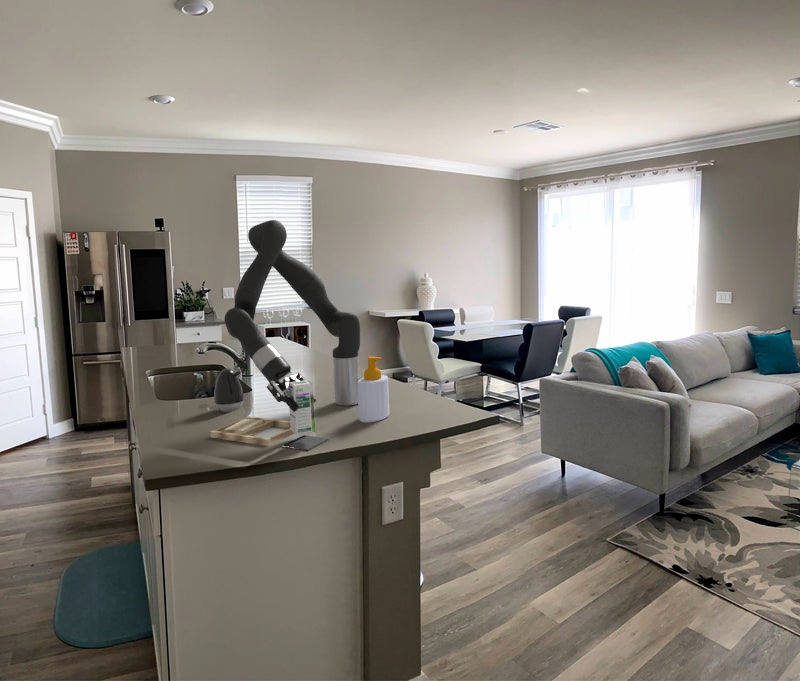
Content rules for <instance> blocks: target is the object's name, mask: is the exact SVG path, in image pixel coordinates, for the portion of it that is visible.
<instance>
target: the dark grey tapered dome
mask: <svg viewBox="0 0 800 681" xmlns="http://www.w3.org/2000/svg"><path fill="white" fill-rule="evenodd" d="M241 374H242V371H241V370H239V371H236V372H235V371H234V370H232V369H231V368H224V369H222V370H221V371H220V372H219V374H218V376H217V378H216V382H215V387H214V391H213V394H214V395H213V401H214V402H213V403H214V404H215V406H216V408H217V409H218V411H220V412H222V411H223V412H222V413H233V412H235V411H238V410H240V409H241V407H242V406H243V403H244V400H245V397H244V391H243V387H242V385H241V382H240V380H239V377H238V376H239V375H241ZM232 411H233V412H232Z"/></svg>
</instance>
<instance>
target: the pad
mask: <svg viewBox="0 0 800 681" xmlns="http://www.w3.org/2000/svg"><path fill="white" fill-rule="evenodd" d="M327 440H328V441H329V440H330V439H329V438H328V437H322V436H321V437H320V436H313V435H312V436H311V435H306V434H302V435H301V436H298V437H296V438H295V439H293V440H291V441H288V442H287V443H285V444H283V445H284V446H289V447H294V448H298V449H297V450H299V449H303V450H302V451H306V450H308V452H309V451H311V450H313V449H315V448H317V447H319V446H320V444H321V445H322V444H324V443H326V442H328V441H327ZM325 441H326V442H325ZM323 442H324V443H323ZM318 445H319V446H318ZM316 446H317V447H316ZM314 447H315V448H314ZM312 448H313V449H312ZM310 449H311V450H310Z"/></svg>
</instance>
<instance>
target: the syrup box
mask: <svg viewBox="0 0 800 681" xmlns="http://www.w3.org/2000/svg"><path fill="white" fill-rule="evenodd" d="M289 385H290V397H292V398H293V399H294V401H295V402H296V403H297V404H298V405H299V408H298V410H297V411H295V412H293V410H291V409H290V407H289V406H288V407H289V408H288V410H289V421H290V425H291V431H292V432H293V433H295V434H294V435H296V436H300V435H306V434H309V433H316V421H315V420H316V419H315V417H316V416H315V403H314V397H315V396H314V385H313V382H312V381H310V380H308V379H307V380H304V381H297V382H289ZM313 396H314V397H313Z"/></svg>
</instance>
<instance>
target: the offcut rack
mask: <svg viewBox="0 0 800 681" xmlns="http://www.w3.org/2000/svg"><path fill="white" fill-rule="evenodd" d="M244 419H253V420H263V424H261V425H259V426H256V427H254V428H252V429H249V430H247V431H244V432H242V433H240V434H235V433H228V432H224V429H226V428H228V427H230V426H232V425H234V424H236V423H238V422H240V421H242V420H244ZM274 427H277V428H284V429H285V430H283V431H281V432H279V433H276V434H275V435H273V436H270V437H262V436H254V435H257V434H259V433H262V432H264V431H266V430H268V429H271V428H274ZM293 435H296V434H295V433H293V432H292V431H291V425H290V420H281V419H274V418H267V417H266V418H265V417H259V416H258V417H257V416H246V417H244V418H241V419H239V420H236V421H234V422H231V423H227V424H226V425H224V426H221V427H218V428H215V429H212V430H210V431H209V438H212V439H220V440H225V441H226V440H227V441H233V442H240V443H247V444H254V445H258V446H267V447H269V446H272V445H275V444H276V443H278V442H280V441H282V440H285V439H286V438H289V437H290V436H293Z"/></svg>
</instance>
